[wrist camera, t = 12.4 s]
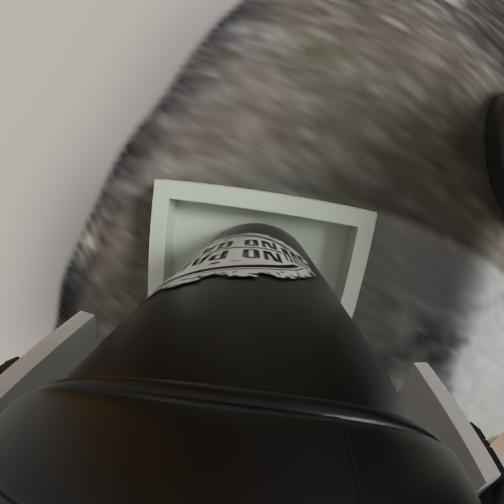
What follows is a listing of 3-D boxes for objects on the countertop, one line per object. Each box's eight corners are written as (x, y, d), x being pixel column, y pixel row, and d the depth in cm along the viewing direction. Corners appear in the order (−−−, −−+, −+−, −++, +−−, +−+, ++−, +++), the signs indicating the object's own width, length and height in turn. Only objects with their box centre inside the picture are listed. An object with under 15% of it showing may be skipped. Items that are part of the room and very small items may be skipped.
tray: (169, 179, 21) (154, 179, 18) (363, 208, 20) (377, 212, 17) (162, 399, 26) (154, 417, 23) (303, 420, 26) (305, 440, 23)
